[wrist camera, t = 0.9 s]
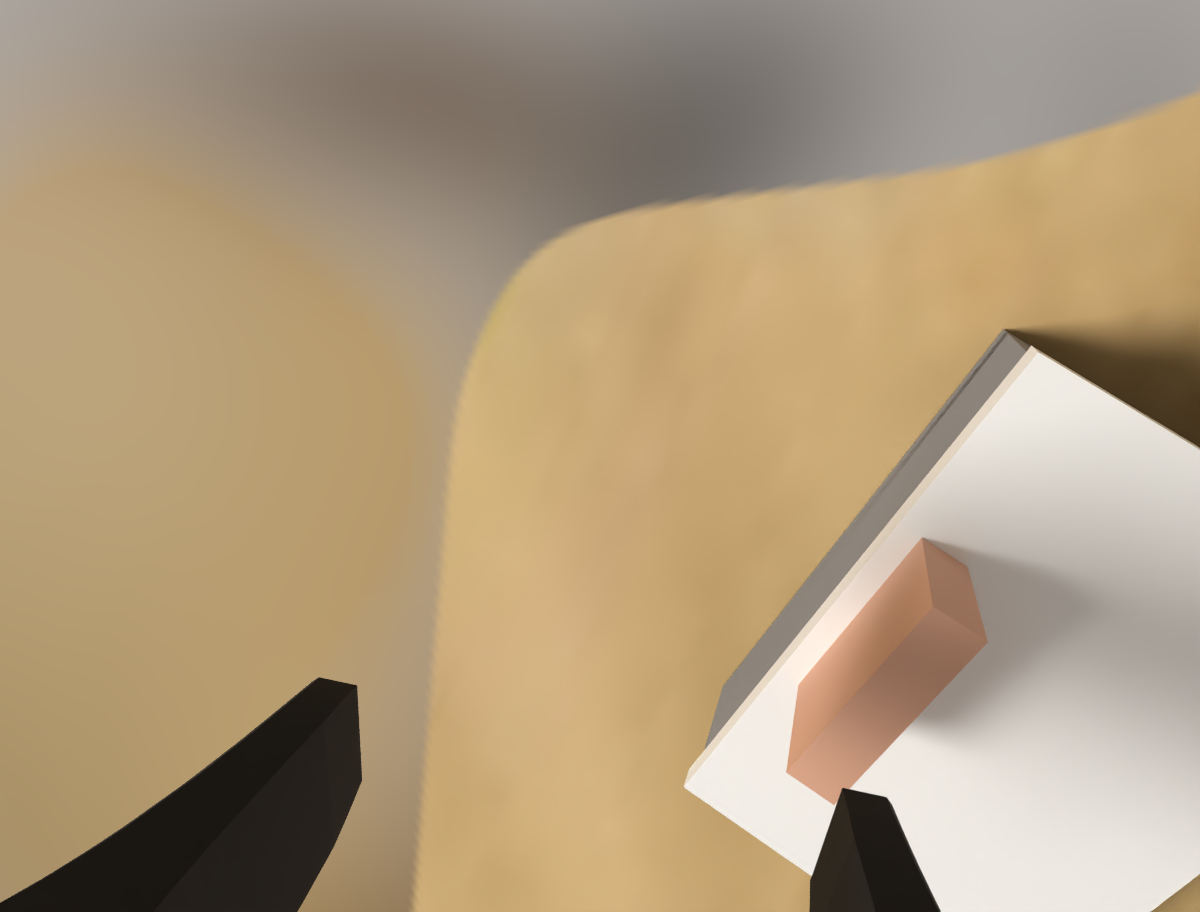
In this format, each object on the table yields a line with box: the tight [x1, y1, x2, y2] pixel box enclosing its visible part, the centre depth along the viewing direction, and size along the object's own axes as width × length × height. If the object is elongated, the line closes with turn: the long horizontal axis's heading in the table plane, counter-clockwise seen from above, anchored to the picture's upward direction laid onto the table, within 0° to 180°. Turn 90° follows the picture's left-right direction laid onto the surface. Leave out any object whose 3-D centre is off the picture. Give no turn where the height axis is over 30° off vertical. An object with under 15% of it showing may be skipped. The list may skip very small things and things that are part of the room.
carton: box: [704, 329, 1031, 750], centre depth 22 cm, size 10×14×4 cm
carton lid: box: [684, 346, 1200, 912], centre depth 18 cm, size 10×14×4 cm
